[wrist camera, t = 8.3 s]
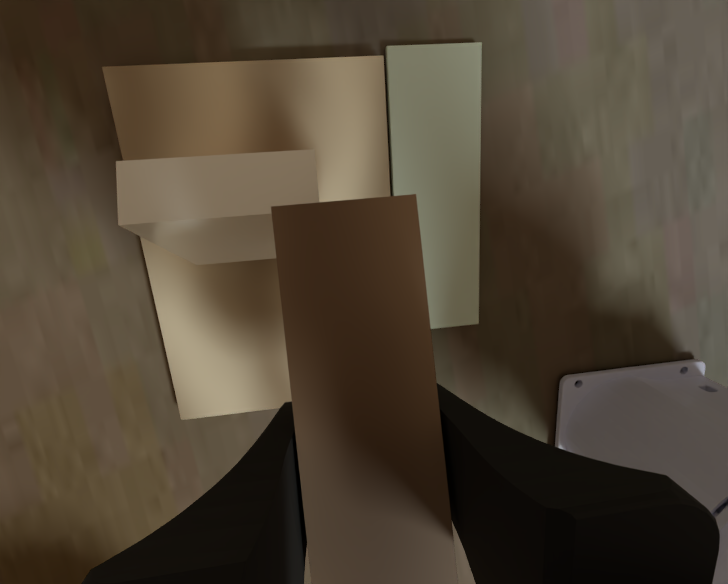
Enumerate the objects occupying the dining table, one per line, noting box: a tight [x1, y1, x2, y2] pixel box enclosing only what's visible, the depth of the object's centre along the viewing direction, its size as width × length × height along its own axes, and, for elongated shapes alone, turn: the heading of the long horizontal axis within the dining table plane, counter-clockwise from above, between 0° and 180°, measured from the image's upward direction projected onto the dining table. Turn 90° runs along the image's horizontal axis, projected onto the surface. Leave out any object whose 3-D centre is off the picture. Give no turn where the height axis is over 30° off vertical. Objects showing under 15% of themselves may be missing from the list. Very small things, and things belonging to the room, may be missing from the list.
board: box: [102, 56, 390, 420], centre depth 19 cm, size 12×17×1 cm
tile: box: [116, 149, 320, 265], centre depth 15 cm, size 6×2×6 cm, turn 94°
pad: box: [385, 42, 482, 329], centre depth 20 cm, size 4×14×1 cm, turn 4°
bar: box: [271, 194, 458, 584], centre depth 12 cm, size 4×11×6 cm, turn 5°
